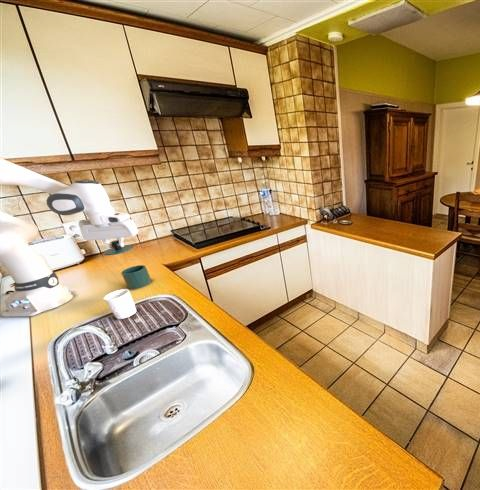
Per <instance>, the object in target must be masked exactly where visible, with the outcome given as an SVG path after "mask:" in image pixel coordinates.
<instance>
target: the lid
mask: <svg viewBox="0 0 480 490" xmlns="http://www.w3.org/2000/svg"><path fill="white" fill-rule="evenodd" d="M110 242H111V243H112V245H113V247H114V248H109V249H106V250H104V251H103V252H102V254H103V256H115V255H119V254H124V253H126V252H128V251H131V250H132V249H133V248H134V246H133V244H124V246H123V247H118V245H117V244H118V243H119V240H118V239H116V240H111V241H110Z"/></svg>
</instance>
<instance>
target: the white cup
mask: <svg viewBox="0 0 480 490" xmlns="http://www.w3.org/2000/svg"><path fill="white" fill-rule="evenodd" d="M103 301H104V302H105V304H106V305H107V307H108V308H109V310H110V312H111V313H112V314H113V315H114V317H115V319H117V320H125V319H127V318H129V317H132V316H133V315H135V314H136V313H137V307H136V304H135V302H134V299H133V296H132V294H131V291H130V289H129V288H122V289H117V290H114V291H112V292H109V293H108V294H106V295H105V296H103Z"/></svg>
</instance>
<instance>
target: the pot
mask: <svg viewBox="0 0 480 490" xmlns="http://www.w3.org/2000/svg"><path fill="white" fill-rule="evenodd" d="M120 274H121V276H122V279H123V280H124V282H125V285H126V287H127V289H128V290H136V289H137V290H138V289H141V288H144V287H146V286H148V285H149V284H151V283H152V278H151V275H150V273H149V271H148V269H147V267H146V265H143V264H141V265H139V264H138V265H134V266H131V267H128V268H126V269H123V270H122V271H121V272H120Z"/></svg>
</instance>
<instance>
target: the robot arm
mask: <svg viewBox="0 0 480 490" xmlns="http://www.w3.org/2000/svg"><path fill="white" fill-rule="evenodd" d="M0 186H20V187H21V186H22V187H29V188H33V189H36V190H38V191H42V192H44V193H47V194H49V196H47V198H46V201H45V202H46V206H47V207H48V209H49V210H50V211H52V212H53V213H55V214H57V215H60V216H73V215H76V214H79V213H82V212H83V213H85V215H86V216H87V219H80V221H78V222H77V223H78V226H79V228H80V229H79V230H80V233H81V235H82V238H83V240H85V241H87V242H91V241H92V242H93V241H102V242H103V243H104V244H105V245H106V246H107V247H108V248H109V249H111V248H114V247H113V245H112V243H111V242H112V241H111V240H112V239H116V240H118V242H119V243H118V244H117V245H118V247H123V246H124V245H125V243H124V242H125V238H132V237H136V236H137V235H138V234H139V229H138V227H137V225H136V223H135V222H134V220H133V219H131V215H130V214H129V213H128V212H127V213H126V212H121V211H117V210H115V208H114V207H113V206H112V205H111V202H110V201H111V200H110V197H109V195H108V193H107V192H106V190H105V188H104V187H103V185H102V184H101V183H100V182H99V181H97V180H90V179H80V180H75V181H73V182H72V183H71V184H68V183H66V182H63V181H60V180H58V179H55V178H53V177H51V176H48V175H46V174H42V173H40V172H37V171H34V170H32V169H29V168H27V167H24V166H21V165H19V164H16V163H14V162H12V161H9V160H6V159H5V158H2V157H0ZM39 232H40V230H39V228H38V226H37V225H36V224H35V223H34V222H32V221H30V220H27V219H23V218H19V217H15V216H13V215H10V214H8V213H6V212H4V211H1V210H0V265H1V266H2V268H4V269H5V271H6V272H7V273H8V275H9V276H10V277H11V279H12V280H13V283H11V284H9V285H8V286H9V287H10V288H13V287H14V290H7V291H6V292H5V295H9V294H10V293H11V294H10V295H9V296H8V297H7V298H6V300H5V301H4V305H5V307H6V309H5V310H4V311H3V312H2V313H1V317H2V318H3V317H6V318H7V317H10V318H12V317H33V316H37V315H38V314H42V313H44V312H47V311H50V310H53V309H56V308H58V307H60V306H63V305H65V304H67V303H68V302H69V301H71V300H72V299H73V298H74V295H73V294H72V292H71V290H69V289H68V287H67V286H65V285H64V283H63V282H62V281H61V280H60V279H59V276H58V275H57V273H56V272H55V271H54V270H52V268H51V266H50V264H49V263H48V261H47V260H46V258H45V256H43V255H41V254H38V253H37V252H36V251H35V250H33V249H32V247H31V246H30V245H29V244H30V243H31V242H33V241H34V240H35V239H36V238H37V237H38V234H39Z"/></svg>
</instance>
